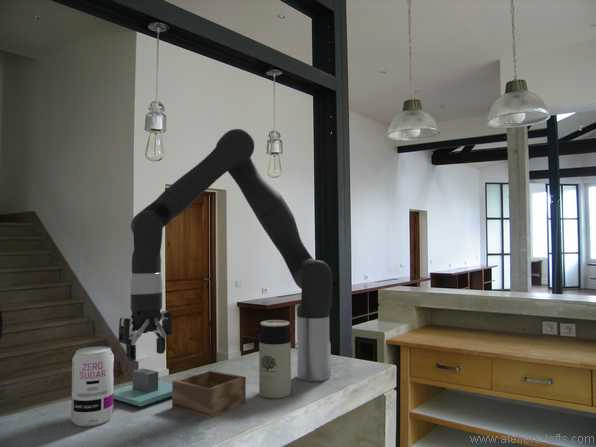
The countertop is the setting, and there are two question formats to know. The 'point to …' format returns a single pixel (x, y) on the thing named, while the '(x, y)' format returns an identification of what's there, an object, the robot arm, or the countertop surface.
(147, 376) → the lid
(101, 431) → the countertop surface
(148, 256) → the robot arm
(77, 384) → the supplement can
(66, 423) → the countertop surface
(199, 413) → the box
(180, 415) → the countertop surface
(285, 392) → the travel mug
